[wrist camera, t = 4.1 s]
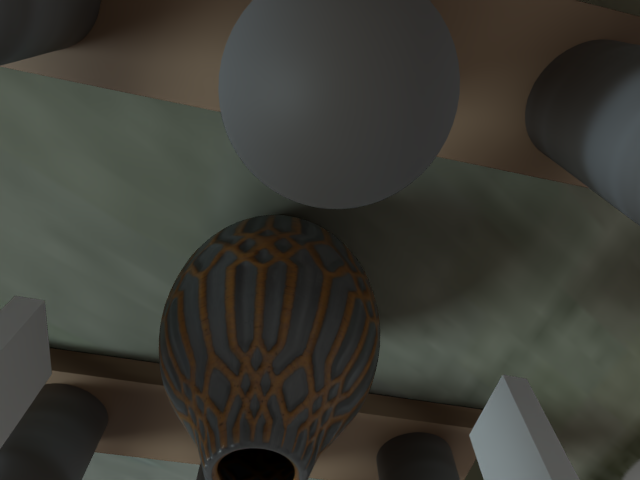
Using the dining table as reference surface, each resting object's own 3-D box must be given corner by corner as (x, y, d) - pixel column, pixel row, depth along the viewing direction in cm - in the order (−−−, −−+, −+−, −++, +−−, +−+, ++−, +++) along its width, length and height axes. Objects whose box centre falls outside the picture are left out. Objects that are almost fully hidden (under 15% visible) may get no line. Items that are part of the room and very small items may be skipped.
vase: (306, 152, 16) (299, 310, 8) (398, 290, 19) (456, 502, 11) (154, 245, 18) (31, 448, 10) (260, 358, 20) (228, 583, 13)
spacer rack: (16, 418, 22) (-127, 628, 15) (-78, -163, 12) (-704, -394, 4) (448, 473, 25) (504, 674, 17) (694, 34, 14) (1087, 87, 7)
